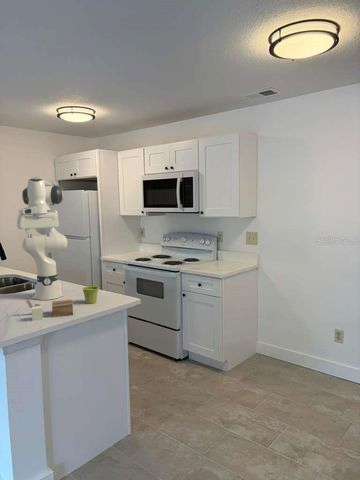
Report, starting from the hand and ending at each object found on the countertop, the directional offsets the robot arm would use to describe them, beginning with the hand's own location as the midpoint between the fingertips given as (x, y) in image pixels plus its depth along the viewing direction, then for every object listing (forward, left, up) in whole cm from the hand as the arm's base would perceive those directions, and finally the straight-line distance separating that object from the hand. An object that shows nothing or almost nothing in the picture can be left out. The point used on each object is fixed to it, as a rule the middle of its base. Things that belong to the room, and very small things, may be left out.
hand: (39, 237), depth 185 cm
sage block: (+9, -3, -41) cm, 42 cm away
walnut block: (+4, +10, -41) cm, 42 cm away
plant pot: (-12, +25, -41) cm, 50 cm away
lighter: (0, -5, -41) cm, 41 cm away
